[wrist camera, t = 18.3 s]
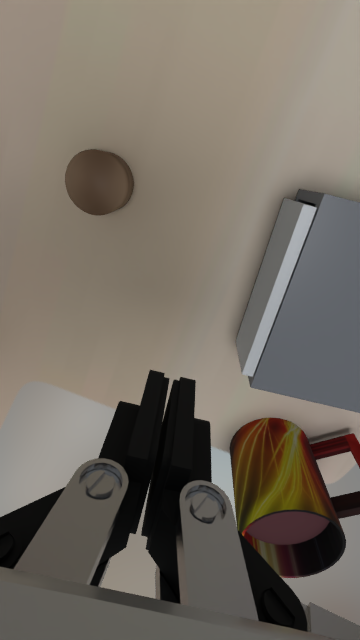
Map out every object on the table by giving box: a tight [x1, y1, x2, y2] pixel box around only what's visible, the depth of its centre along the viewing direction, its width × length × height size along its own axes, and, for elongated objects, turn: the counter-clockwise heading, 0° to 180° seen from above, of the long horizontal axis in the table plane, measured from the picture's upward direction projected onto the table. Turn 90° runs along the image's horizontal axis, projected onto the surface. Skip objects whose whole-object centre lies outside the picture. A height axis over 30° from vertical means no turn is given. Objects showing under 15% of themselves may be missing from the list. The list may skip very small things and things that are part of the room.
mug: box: [230, 418, 360, 578], centre depth 36 cm, size 10×14×12 cm
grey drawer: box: [236, 198, 317, 377], centre depth 30 cm, size 13×15×6 cm
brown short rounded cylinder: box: [65, 149, 134, 215], centre depth 29 cm, size 5×5×4 cm
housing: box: [248, 189, 360, 413], centre depth 31 cm, size 14×17×7 cm
